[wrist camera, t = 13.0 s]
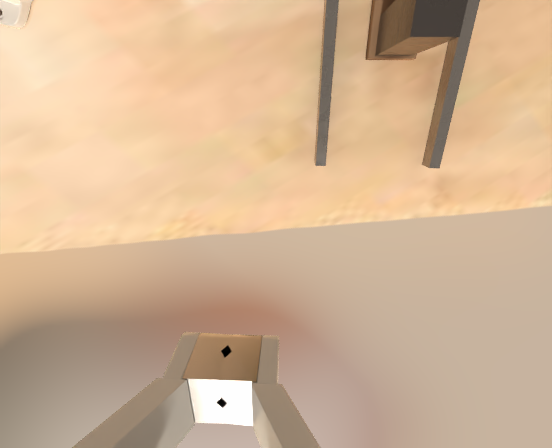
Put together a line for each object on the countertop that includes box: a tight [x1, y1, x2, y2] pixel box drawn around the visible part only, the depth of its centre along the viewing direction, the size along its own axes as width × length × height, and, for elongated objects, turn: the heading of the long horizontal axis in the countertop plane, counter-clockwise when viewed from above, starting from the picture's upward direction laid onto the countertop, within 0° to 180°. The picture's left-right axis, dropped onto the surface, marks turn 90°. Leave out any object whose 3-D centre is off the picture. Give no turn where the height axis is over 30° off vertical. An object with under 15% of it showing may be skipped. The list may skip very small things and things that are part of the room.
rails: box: [315, 0, 480, 168], centre depth 29 cm, size 15×30×2 cm, turn 0°
